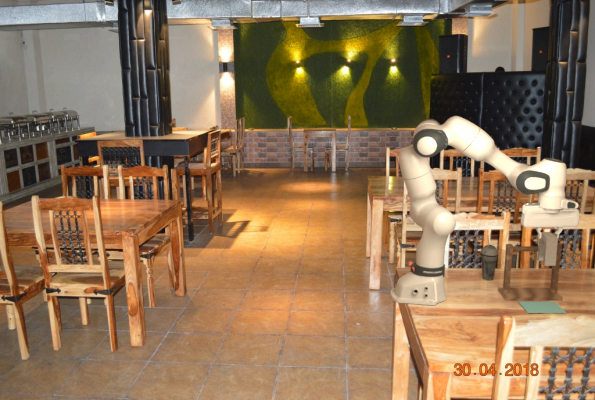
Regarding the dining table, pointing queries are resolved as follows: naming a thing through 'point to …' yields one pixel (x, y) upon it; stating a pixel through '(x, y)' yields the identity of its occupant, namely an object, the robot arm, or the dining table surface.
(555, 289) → the stand
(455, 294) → the dining table surface
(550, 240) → the tall rectangular pillar
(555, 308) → the mat
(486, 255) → the beverage cup
